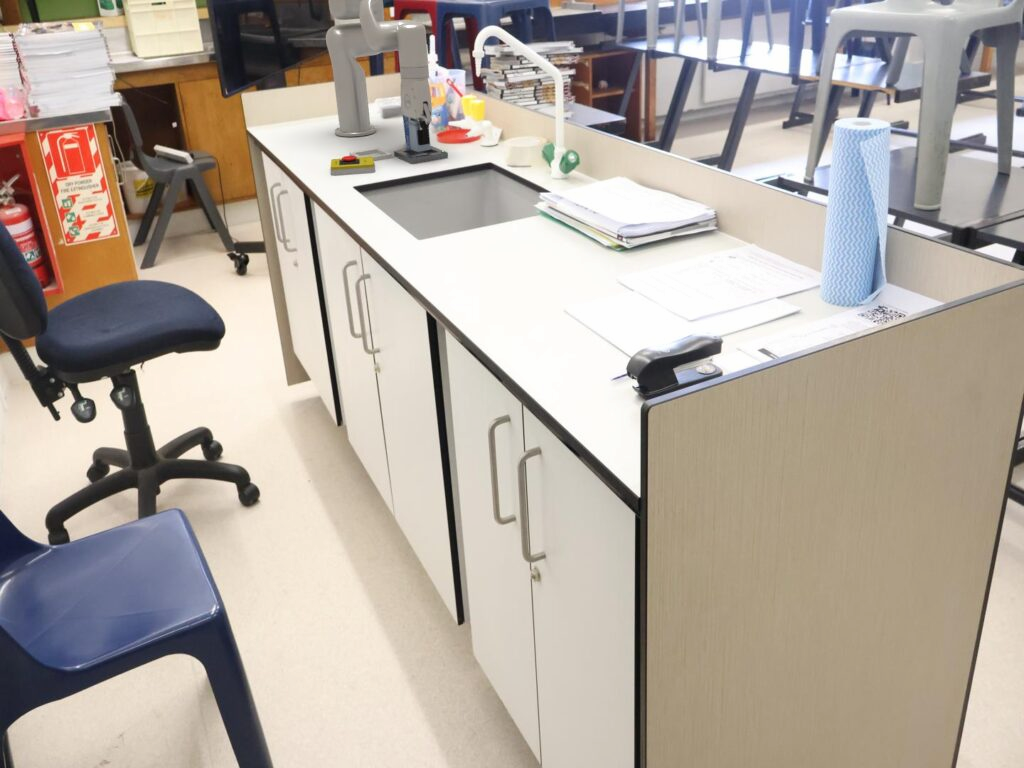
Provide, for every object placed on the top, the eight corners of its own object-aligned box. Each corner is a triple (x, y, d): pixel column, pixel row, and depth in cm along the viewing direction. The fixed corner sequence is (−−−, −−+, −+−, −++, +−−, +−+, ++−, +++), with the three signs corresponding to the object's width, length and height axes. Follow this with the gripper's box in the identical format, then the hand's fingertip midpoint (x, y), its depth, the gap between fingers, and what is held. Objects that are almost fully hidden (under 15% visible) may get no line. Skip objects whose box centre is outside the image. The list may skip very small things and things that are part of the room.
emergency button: (324, 154, 242) (381, 150, 244) (326, 171, 244) (382, 167, 246) (323, 163, 234) (382, 159, 236) (325, 180, 236) (383, 175, 238)
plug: (410, 149, 250) (408, 119, 246) (423, 147, 252) (421, 117, 248) (417, 152, 247) (414, 122, 243) (430, 149, 249) (428, 119, 245)
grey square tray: (349, 158, 254) (349, 152, 253) (379, 153, 258) (378, 148, 257) (362, 164, 247) (362, 159, 247) (392, 159, 251) (392, 154, 251)
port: (394, 158, 253) (393, 149, 251) (429, 152, 258) (429, 144, 256) (412, 166, 244) (411, 157, 243) (448, 159, 249) (447, 151, 248)
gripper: (388, 71, 245) (394, 139, 253) (416, 78, 232) (421, 150, 241) (413, 68, 248) (418, 135, 257) (442, 75, 236) (446, 146, 244)
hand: (420, 142), depth 249 cm, fingers closed on plug, 4 cm apart
